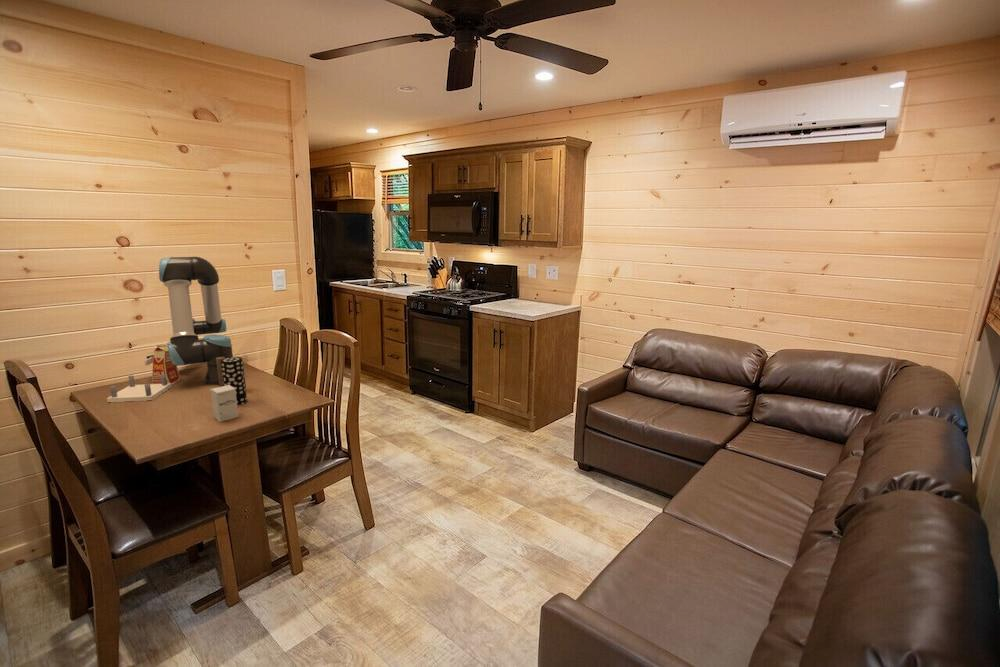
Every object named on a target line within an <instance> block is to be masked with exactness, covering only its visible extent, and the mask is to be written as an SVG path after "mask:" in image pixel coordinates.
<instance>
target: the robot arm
mask: <svg viewBox="0 0 1000 667" xmlns="http://www.w3.org/2000/svg"><path fill="white" fill-rule="evenodd" d="M158 266H159V267H158V279H159V282H162V283H163V286H164V287H166V288H167V290H168V300H169V308H170V316H171V318H170V319H171V324H172V335H171V336H170V338H169V341H168V342H166V345H167V347H168V351H169V354H170V358H171V361H172V363H173V364H174V365H176V366H177V367H178V366H187V365H196V364H202V363H203V364H204V363H206V367H207V369H206V373H205V376H204V380H205V384H207V385H209V386H210V385H211V386H220V385H219V378H218V370H217V362H216V358H218V357H225V358H229V357H234V354H233V344H232V340H231V338H230V336H228V335H224V334H222V333H225V332H227V322H226V319H225V318H222V314H221V302H220V297H219V289H218V288H219V287H218V283H220V278H219V272H218V270H217V269H216V268H215V266H214V265H213V264H212V263H211V262H210V261H208V260H207V259H206V258H202V257H200V256H179V257H176V256H175V257H173V256H169V257H162V258H161V259H160V260H159V264H158ZM193 281H197V283H198V284H199V285H200V291H201V297H202V305H203V309H204V317H205V320H196V319H195V318H194V317H193V313H192V304H191V296H190V286H191V285H192V282H193ZM201 335H204V336H203V337H202V338H203V339H202V338H200V339H199V336H201ZM153 356H154V354H151V355H148V356H146V359H144V365H145V366H146V367H147V366H150V365H151V364H153Z"/></svg>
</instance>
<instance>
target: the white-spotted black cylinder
mask: <svg viewBox="0 0 1000 667" xmlns="http://www.w3.org/2000/svg"><path fill="white" fill-rule="evenodd" d="M220 362H221V370H222V377H223V385H224V386H227V385H230V386H232V387H233V388H235V390H236V399H237V406H242V405H244V404H246V403H247V402H248V398H247V387H246V388H245V383H246V379H245V380H244V374H245V371H244V372H243V366H244V362H243V358H242V357H240V356H233V357H229V358H225V359H222V360H221V361H220Z"/></svg>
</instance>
